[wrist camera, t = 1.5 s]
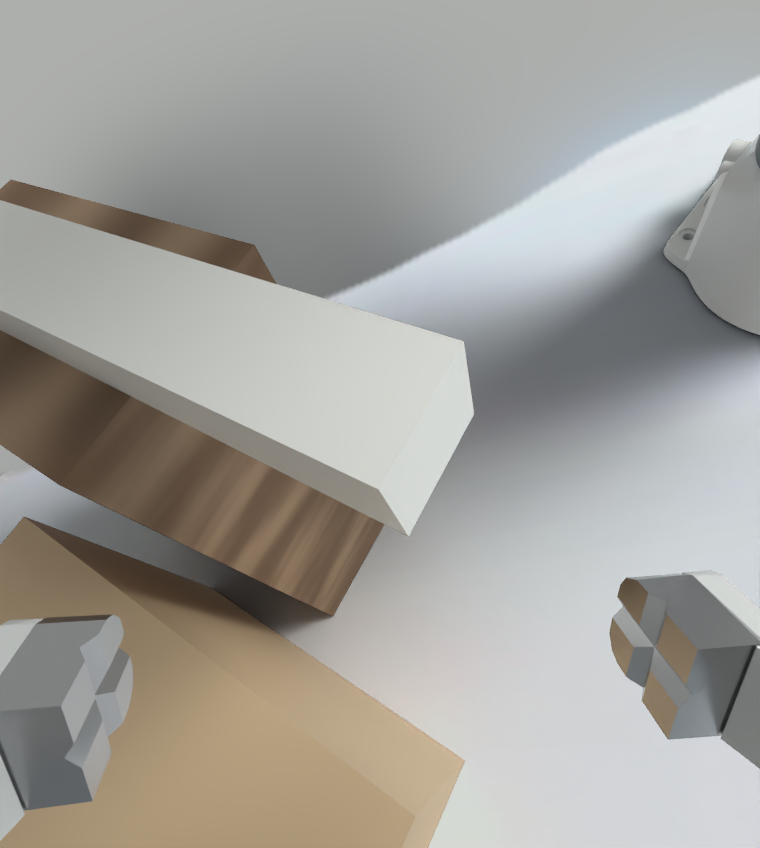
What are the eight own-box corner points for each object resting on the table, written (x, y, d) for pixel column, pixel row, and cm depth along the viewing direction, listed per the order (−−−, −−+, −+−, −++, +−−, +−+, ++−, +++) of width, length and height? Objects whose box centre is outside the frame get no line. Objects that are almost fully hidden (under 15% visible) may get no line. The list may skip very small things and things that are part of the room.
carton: (211, 588, 40) (24, 516, 25) (465, 760, 31) (415, 816, 16) (130, 713, 37) (-144, 720, 22) (385, 947, 28) (225, 1246, 12)
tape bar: (474, 414, 13) (463, 341, 10) (408, 536, 12) (378, 489, 9) (-61, 217, 24) (-128, 161, 22) (-119, 269, 23) (-197, 216, 21)
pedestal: (398, 498, 40) (254, 245, 18) (332, 616, 37) (59, 485, 15) (249, 428, 47) (10, 179, 25) (183, 522, 44) (-160, 335, 21)
